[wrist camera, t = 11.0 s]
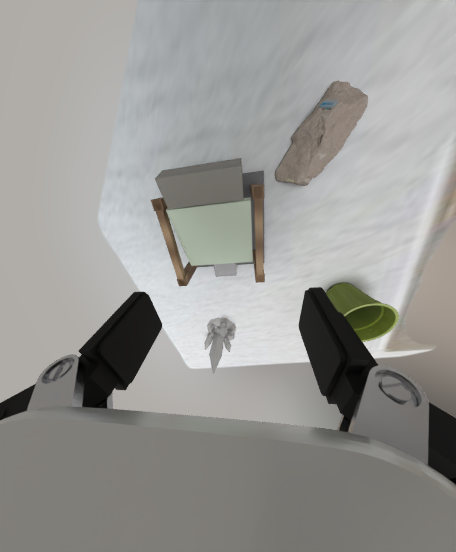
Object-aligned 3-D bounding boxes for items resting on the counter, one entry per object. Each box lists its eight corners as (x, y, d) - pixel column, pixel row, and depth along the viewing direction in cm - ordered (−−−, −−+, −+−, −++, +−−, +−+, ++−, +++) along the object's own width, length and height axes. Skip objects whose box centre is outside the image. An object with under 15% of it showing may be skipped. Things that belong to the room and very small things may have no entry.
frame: (179, 193, 35) (150, 200, 24) (257, 183, 33) (264, 185, 22) (195, 259, 43) (179, 286, 32) (259, 254, 41) (264, 282, 30)
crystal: (242, 318, 53) (240, 363, 40) (229, 342, 60) (224, 386, 47) (213, 309, 52) (202, 352, 39) (203, 334, 59) (191, 377, 46)
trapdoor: (155, 171, 23) (147, 179, 21) (248, 157, 21) (249, 164, 19) (193, 259, 36) (190, 269, 34) (252, 255, 34) (253, 265, 32)
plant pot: (325, 314, 49) (345, 348, 39) (310, 287, 44) (328, 318, 35) (369, 298, 44) (404, 331, 35) (357, 266, 40) (392, 294, 30)
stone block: (212, 257, 36) (215, 276, 39) (234, 256, 36) (236, 275, 38) (215, 249, 41) (218, 266, 43) (235, 247, 40) (237, 265, 42)
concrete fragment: (268, 172, 32) (272, 171, 27) (326, 82, 25) (347, 56, 20) (295, 194, 33) (304, 196, 28) (357, 113, 26) (384, 97, 21)
